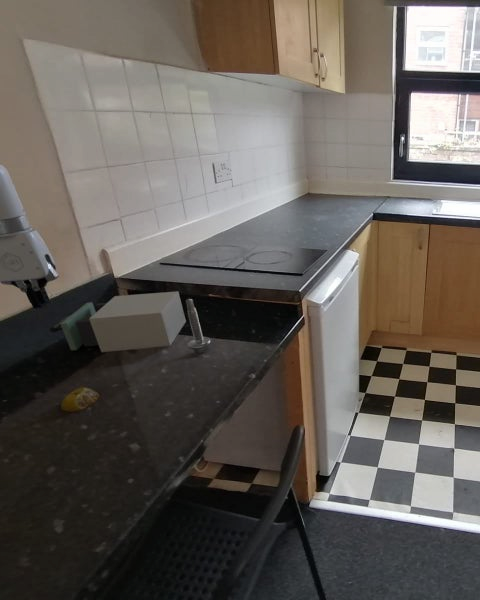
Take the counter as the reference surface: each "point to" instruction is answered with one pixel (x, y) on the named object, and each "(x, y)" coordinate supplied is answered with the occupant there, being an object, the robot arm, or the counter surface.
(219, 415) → the counter surface
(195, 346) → the screw
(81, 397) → the fruit
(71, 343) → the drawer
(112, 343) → the pale grey box
